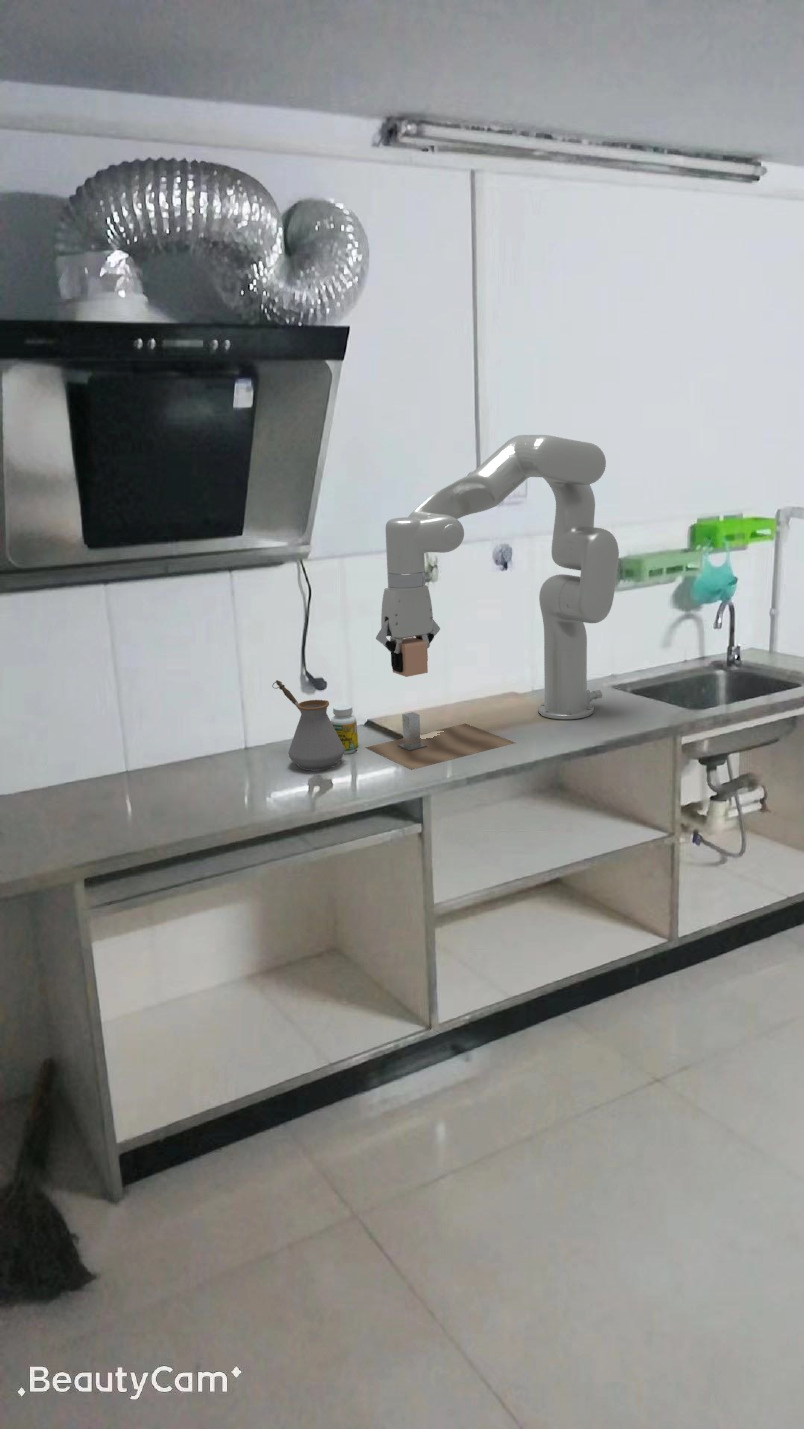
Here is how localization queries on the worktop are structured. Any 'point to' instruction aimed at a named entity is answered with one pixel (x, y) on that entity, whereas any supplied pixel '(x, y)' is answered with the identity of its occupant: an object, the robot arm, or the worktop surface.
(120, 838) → the worktop surface
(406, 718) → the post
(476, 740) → the board
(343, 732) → the supplement bottle
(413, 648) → the tan wooden brick
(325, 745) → the coffee pot
